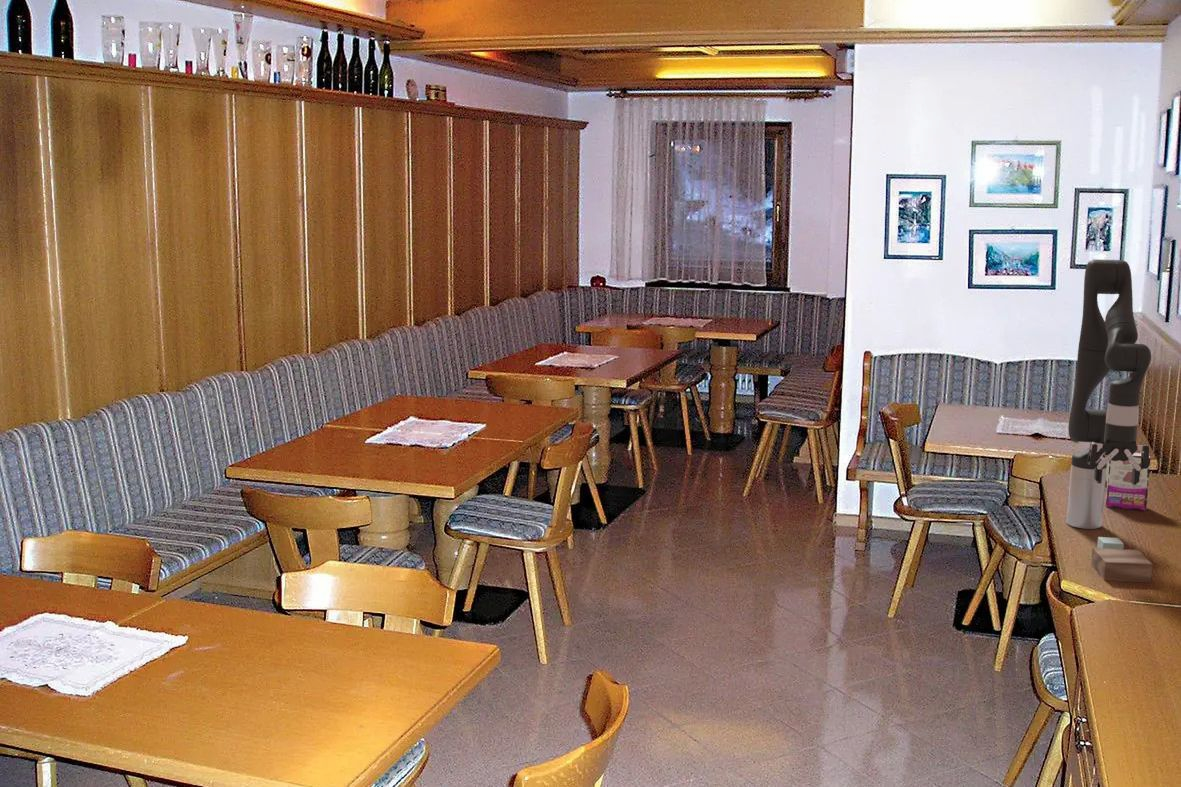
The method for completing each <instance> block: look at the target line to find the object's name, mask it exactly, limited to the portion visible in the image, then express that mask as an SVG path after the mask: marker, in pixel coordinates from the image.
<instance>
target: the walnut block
mask: <svg viewBox="0 0 1181 787" xmlns="http://www.w3.org/2000/svg"><path fill="white" fill-rule="evenodd" d="M1090 562H1091V563H1090V566H1091V565H1092V566H1093V567H1092V566H1091V567H1092V569H1093V568H1094V569H1095V570H1096V571H1097V572H1098V573H1097V572H1096V571H1095V570H1094V569H1093V570H1094V571H1095V572H1096V573H1097V574H1098V576H1099V577H1100V576H1101V577H1102V578H1103V579H1104V580H1103V579H1102V578H1101V579H1102V580H1103V581H1107V580H1116V581H1115V582H1131V583H1132V582H1133V583H1134V582H1135V583H1152V575H1153V574H1152V573H1153V566H1154V565H1153V563H1152V562H1151V561H1150V560H1149V559H1148V558H1147V557H1146V556H1145V555H1144V554H1143V553H1142V552H1141V551H1140V550H1139V549H1125V548H1123V549H1105V548H1097V547H1092V551H1091V560H1090Z"/></svg>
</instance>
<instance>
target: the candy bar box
mask: <svg viewBox="0 0 1181 787" xmlns="http://www.w3.org/2000/svg"><path fill="white" fill-rule="evenodd" d="M1133 457H1134V458H1135V460H1136V461H1137V463H1138V464H1140V463H1141V453H1140V452H1135V453H1134V454H1133ZM1150 468H1151V455H1150V453H1149V467H1148V468H1147V469H1142V470H1141V471H1140V478H1139V482H1138V483H1137V484H1136V485H1133V484H1132V483H1131V478H1132V469H1134V467H1133V466H1132V465H1131V463H1130V462H1129V461H1128V460H1127V461H1120V460H1119V461H1112V460H1110V461H1109V469H1108V482H1107V489H1106V495H1105V507H1107V508H1113V509H1124V510H1125V509H1126V510H1135V511H1146V510H1147V505H1148V503H1147V502H1148V493H1149V482H1150V481H1149V480H1150Z"/></svg>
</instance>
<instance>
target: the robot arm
mask: <svg viewBox="0 0 1181 787" xmlns="http://www.w3.org/2000/svg"><path fill="white" fill-rule="evenodd" d="M1083 279H1084V281H1083V299H1082V300H1083V302H1082V305H1083V307H1082V318H1081V327H1080V334H1079V335H1080V336H1079V342H1078V349H1077V359H1076V370H1075V371H1076V373H1075V382H1074V390H1073V396H1072V402H1071V408H1070V413H1069V419H1068V428H1067V429H1068V430H1067V431H1068V436H1069V439H1070V440H1071V441H1073V442H1080V443H1089V447H1087V448H1086V449H1083V450H1081V451H1078V452H1075V453H1073V454H1072V456H1071V461H1070V462H1071V464H1070V465H1071V466H1070V473H1069V474H1070V475H1069V489H1068V500H1067V509H1066V510H1067V512H1066V521H1065V522H1066V524H1067V525H1069V526H1070V527H1073V528H1079V529H1086V530H1090V529H1091V530H1093V529H1096V530H1097V529H1099V528H1101V527H1102V524H1103V523H1102V522H1103V513H1104V502H1105V500H1104V499H1105V492H1106V491H1105V490H1106V489H1105V480H1106V468H1107V463H1108V462H1109V461H1110V460H1112V461H1119V460H1120V461H1127V460H1128V461H1129V462H1130V463H1131V465H1132V466H1133V467H1134V469H1132V478H1131V483H1132V484H1133V485H1136V484H1137V483H1138V482H1139V478H1140V471H1141V470H1142V469H1147V468H1148V467H1149V454H1150V446H1149V445H1147V444H1146V443H1142V444H1137V436H1138V426H1139V421H1140V417H1139V416H1140V415H1139V414H1140V413H1139V412H1140V410H1139V407H1140V406H1139V405H1140V397H1141V395H1140V394H1141V388H1142V384H1143V381H1144V379H1145V376H1146V374H1147V372H1148V369H1149V366H1150V364H1151V361H1152V353H1151V350H1150V348H1149V347H1148V346H1147V345H1146V344H1144V343H1136V342H1137V341H1138V338H1139V337H1138V336H1139V334H1138V330H1137V325H1136V321H1135V316H1134V310H1133V308H1134V307H1133V306H1134V304H1133V303H1134V302H1133V301H1134V300H1133V280H1132V272H1131V267H1130V264H1129V263H1128V262H1127V261H1126V260H1122V259H1090V260H1088V262H1087V264H1086V267H1085V270H1084V278H1083ZM1100 294H1101V295H1118V297H1117V299H1116V300H1115V302H1114V303H1113V304H1112V305H1111V306H1110V308H1109V309H1108V311H1107V312H1106V315H1105V319H1104V317H1103V315H1102V313H1101V311H1100V308H1099V302H1098V295H1100ZM1110 371H1113V372H1114V371H1115V372H1129V373H1130V372H1131V373H1130V375H1129V376H1128V377H1126V378H1122V379H1116V380H1113V381H1111V382H1110V385H1109V393H1108V403H1107V408H1106V409H1098V408H1097V409H1094V408H1093V409H1092V408H1087V403H1088V402H1089V399H1090V397H1091V395H1092V394H1093V392H1094V391H1095V389H1096V387H1098V386H1099V385H1100V384H1101V383H1102V381H1103V379H1105V378H1106V376H1107V375H1108V374H1109V373H1110ZM1137 451H1138V453H1141V463H1140V464H1138V463H1137V461H1136V460H1135V458H1134V457H1133V454H1134V453H1137Z"/></svg>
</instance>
